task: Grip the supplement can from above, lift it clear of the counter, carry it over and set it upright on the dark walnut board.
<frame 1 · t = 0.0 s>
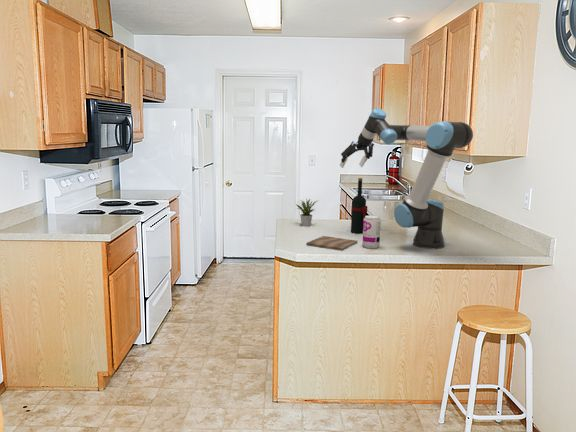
hand: (350, 166, 284), 36 cm above the countertop, tool tilted 35°, fingers open, 13 cm apart
walnut board: (332, 244, 255), on the countertop
house plant: (307, 225, 300), on the countertop
supplement can: (370, 247, 251), on the countertop
wine bottle: (359, 233, 283), on the countertop
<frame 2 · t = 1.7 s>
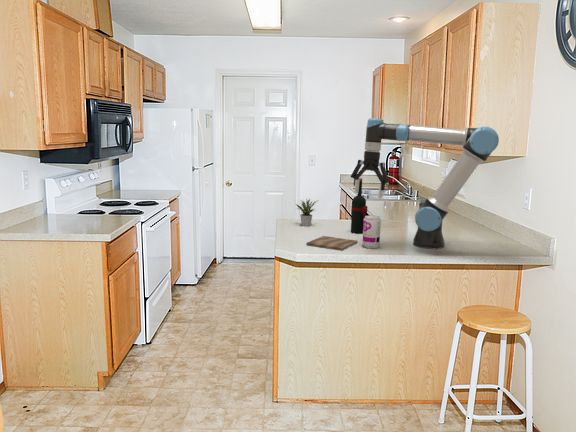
hand: (368, 194, 250), 25 cm above the countertop, tool pointing down, fingers open, 13 cm apart
nothing on the countertop moved.
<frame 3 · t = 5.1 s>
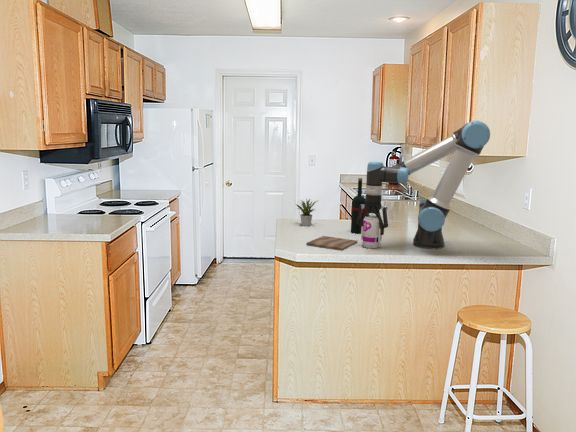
hand: (371, 240, 251), 3 cm above the countertop, tool pointing down, fingers closed on supplement can, 8 cm apart
supplement can: (370, 247, 251), on the countertop, touching gripper
everything else where it was.
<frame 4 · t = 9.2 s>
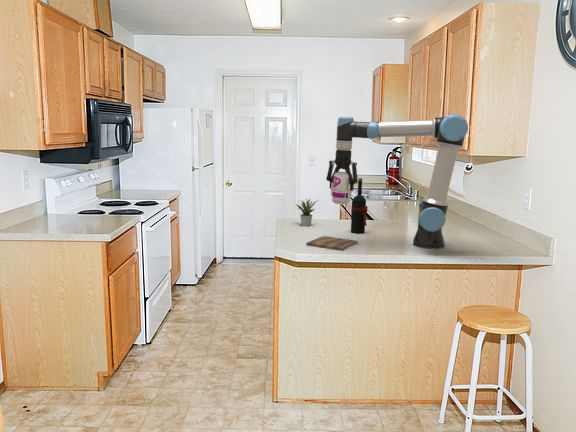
hand: (340, 196, 250), 24 cm above the countertop, tool pointing down, fingers closed on supplement can, 8 cm apart
supplement can: (340, 203, 251), point 21 cm above the countertop, touching gripper
everything else where it was.
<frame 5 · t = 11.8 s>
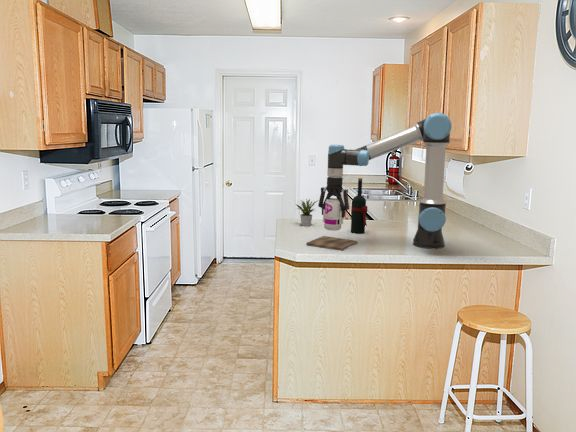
hand: (332, 222, 253), 11 cm above the countertop, tool pointing down, fingers closed on supplement can, 8 cm apart
supplement can: (332, 229, 254), point 7 cm above the countertop, touching gripper
everything else where it was.
when the fingers open (6 cm above the countertop, at t = 13.7 s): supplement can drops 1 cm, resting on walnut board.
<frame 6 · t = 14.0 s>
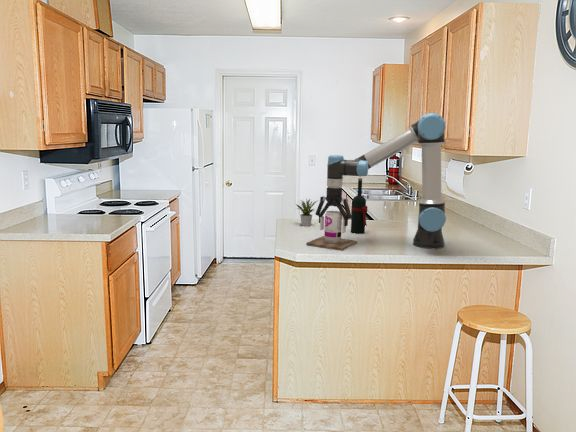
hand: (332, 231, 254), 7 cm above the countertop, tool pointing down, fingers open, 11 cm apart
supplement can: (332, 242, 255), point 1 cm above the countertop, touching walnut board
everything else where it was.
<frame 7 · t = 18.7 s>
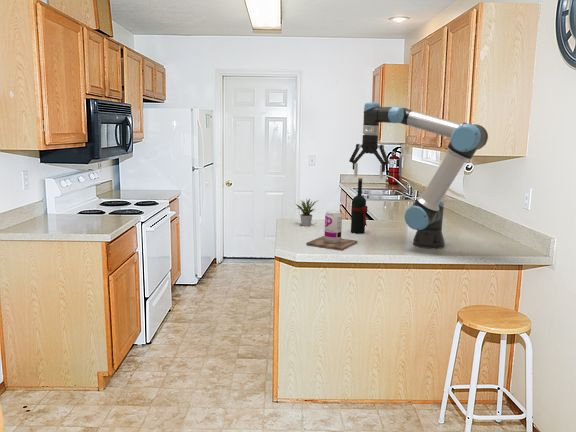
hand: (368, 177, 257), 33 cm above the countertop, tool pointing down, fingers open, 13 cm apart
nothing on the countertop moved.
at the end: supplement can inside the target area on the walnut board (0.1 cm from its centre), point 1.0 cm above the walnut board's base; supplement can tilted 0°; the gripper is holding nothing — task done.
